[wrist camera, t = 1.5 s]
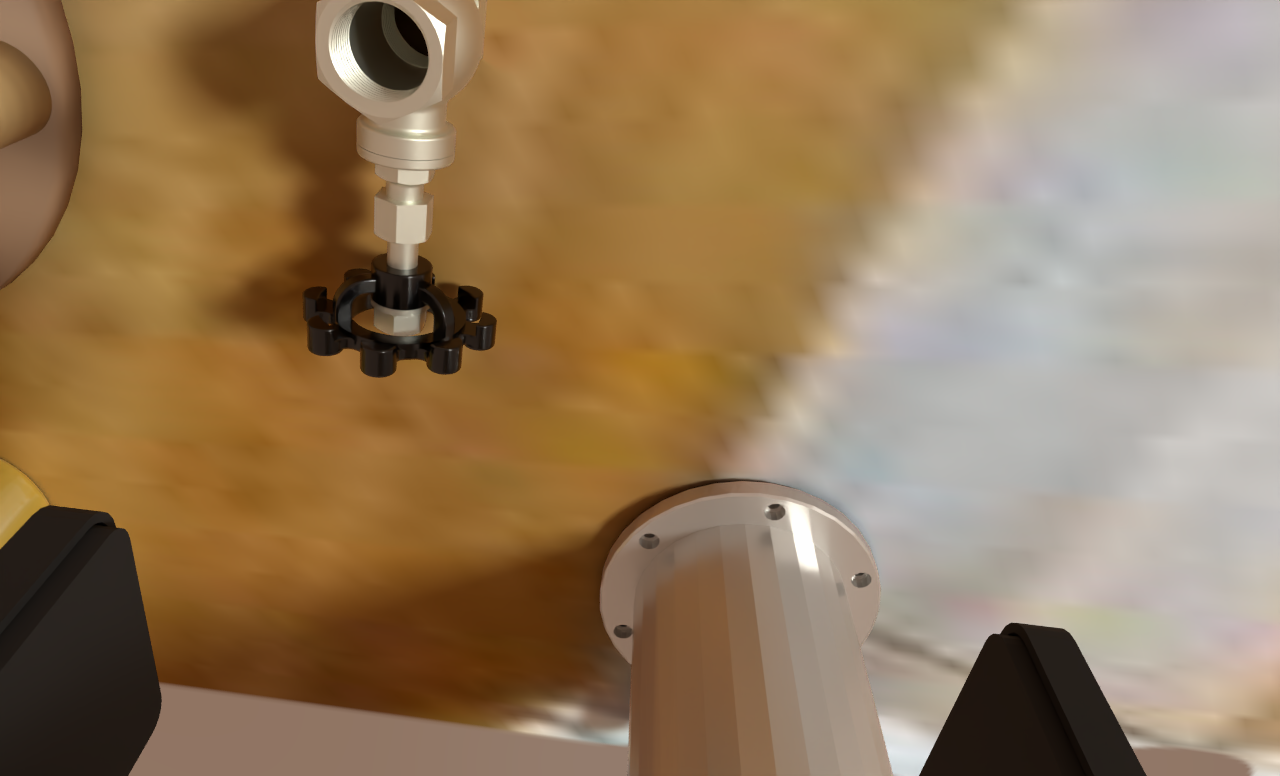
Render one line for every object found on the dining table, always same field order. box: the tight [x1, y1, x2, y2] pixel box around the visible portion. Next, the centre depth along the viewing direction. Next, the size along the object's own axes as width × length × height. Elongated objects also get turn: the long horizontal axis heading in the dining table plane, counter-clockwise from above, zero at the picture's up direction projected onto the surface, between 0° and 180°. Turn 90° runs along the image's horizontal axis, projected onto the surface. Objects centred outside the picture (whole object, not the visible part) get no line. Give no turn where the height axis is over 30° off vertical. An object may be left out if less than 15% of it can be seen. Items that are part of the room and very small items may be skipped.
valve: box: [303, 0, 497, 378], centre depth 28 cm, size 7×7×12 cm
